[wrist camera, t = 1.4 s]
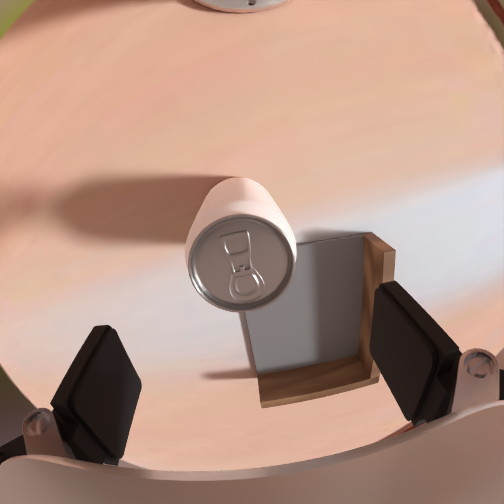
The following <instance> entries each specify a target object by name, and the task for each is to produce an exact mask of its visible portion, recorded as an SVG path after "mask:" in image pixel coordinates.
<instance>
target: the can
mask: <svg viewBox="0 0 504 504" xmlns="http://www.w3.org/2000/svg"><path fill="white" fill-rule="evenodd" d="M296 255H297V249H296V242H295V238H294V234H293V232H292V229H291V227H290V226H289V224H288V222H287V220H286V219H285V217H284V216H283V214H282V212H281V211H280V209H279V208H278V206H277V205H276V203H275V202H274V200H273V199H272V197H271V196H270V194H269V193H268V192H267V191H266V189H265V188H264V187H263V186H261V185H260V184H259V183H257V182H255V181H253V180H251V179H247V178H240V177H236V178H230V179H226V180H224V181H222V182H220V183H218V184H217V185H215V186H214V187H213V188H212V189H211V190H210V191H209V193H208V194H207V196H206V197H205V199H204V201H203V203H202V205H201V207H200V209H199V211H198V213H197V215H196V217H195V220H194V222H193V224H192V226H191V229H190V231H189V234H188V237H187V240H186V246H185V259H186V265H187V268H188V271H189V276H190V279H191V281H192V284H193V286H194V287H195V289H196V290H197V292H198V293H199V294H200V295H201V296H202V297H203V298H204V299H205V300H206V301H207V302H209V303H210V304H212V305H214V306H215V307H217V308H220V309H223V310H226V311H230V312H252V311H256V310H259V309H262V308H265V307H267V306H269V305H270V304H272V303H273V302H275V301H276V300H277V299H279V298H280V297H281V296H282V295H283V294H284V292H285V291H286V290H287V288H288V287H289V285H290V283H291V281H292V278H293V275H294V271H295V262H296Z"/></svg>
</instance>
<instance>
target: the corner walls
mask: <svg viewBox="0 0 504 504" xmlns="http://www.w3.org/2000/svg"><path fill="white" fill-rule="evenodd" d="M362 235H363V236H364V265H363V295H362V313H361V327H360V338H359V349H358V355H354V356H350V357H346V358H342V359H338V360H334V361H329V362H325V363H320V364H315V365H310V366H305V367H300V368H295V369H289V370H284V371H278V372H272V373H265V374H259V375H257V376H258V385H259V394H260V403H261V407H262V408H267V407H274V406H280V405H286V404H292V403H297V402H302V401H307V400H312V399H317V398H321V397H326V396H330V395H334V394H338V393H342V392H346V391H350V390H354V389H358V388H361V387H365V386H368V385H372V384H375V383H378V381H379V376H380V370H379V369H378V367H377V365H376V363H375V361H374V360H373V358H372V356H371V354H370V349H369V345H370V337H371V328H372V318H373V306H374V293H375V289H377V288H378V287H379V285H380V284H381V283H385V282H390V281H394V269H395V253H396V250H395V249H393V248H392V247H391V246H389V245H388V244H387V243H385V242H384V241H383V240H381V239H380V238H379V237H377V236H376V235H375V234H373V233H365V234H362Z"/></svg>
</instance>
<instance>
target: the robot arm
mask: <svg viewBox="0 0 504 504" xmlns="http://www.w3.org/2000/svg"><path fill="white" fill-rule="evenodd" d="M194 1H196V2H198V3H200V4H202V5H203V6H206V7H209V8H212V9H215V10H221V11H226V12H237V13H248V12H259V11H264V10H269V9H272V8H276V7H279V6H281V5H283V4H285V3H287V2H289V1H291V0H194ZM249 4H252V5H253V6H251V5H249ZM369 349H370V354H371V356H372V358H373V360H374V361H375V363H376V365H377V367H378V369H379V370H380V372H381V374H382V376H383V377H384V379H385V381H386V383H387V385H388V387H389V388H390V390H391V392H392V394H393V396H394V398H395V399H396V401H397V403H398V405H399V407H400V409H401V411H402V413H403V415H404V416H405V418H406V420H407V421H410V420H411V421H412V423H413V425H414V427H416V426H418V425H421V424H423V423H425V422H427V424H425V425H423V426H420V427H417V428H415V429H412V430H410V431H407V432H404V433H402V434H399V435H396V436H393V437H391V438H388V439H385V440H382V441H379V442H376V443H373V444H369V445H366V446H363V447H360V448H356V449H353V450H349V451H345V452H341V453H338V454H334V455H329V456H325V457H321V458H316V459H311V460H306V461H301V462H295V463H290V464H283V465H277V466H270V467H262V468H252V469H242V470H228V471H198V472H190V471H158V470H145V469H134V468H125V467H117V465H118V462H119V459H121V458H122V457H123V455H124V451H125V447H126V443H127V439H128V435H129V431H130V427H131V424H132V420H133V416H134V413H135V409H136V406H137V402H138V399H139V395H140V392H141V388H142V385H141V380H140V378H139V376H138V374H137V372H136V371H135V369H134V367H133V365H132V363H131V361H130V359H129V357H128V355H127V353H126V351H125V349H124V347H123V345H122V342H121V340H120V338H119V336H118V334H117V332H116V330H115V329H112V327H111V326H109V325H101V326H95V327H94V328H93V329H92V331H91V332H90V334H89V336H88V337H87V339H86V340H85V342H84V344H83V345H82V347H81V349H80V350H79V352H78V354H77V356H76V357H75V359H74V361H73V362H72V364H71V366H70V368H69V369H68V371H67V373H66V375H65V377H64V378H63V380H62V382H61V384H60V386H59V388H58V389H57V391H56V393H55V395H54V397H53V399H52V401H51V403H50V404H51V405H52V407H53V408H54V409H53V411H52V412H51V411H50V410H49V409H46V408H39V409H36V410H34V411H32V412H31V413H30V414H29V415H28V416H27V417H26V418H25V420H24V422H23V425H22V431H23V435H21V436H19V437H18V438H16V439H14V440H12V441H10V442H8V443H6V444H5V445H3V446H1V447H0V504H504V370H501V369H499V363H498V361H497V359H496V357H495V356H494V355H493V354H492V353H490V352H488V351H487V350H483V349H476V348H474V349H470V350H467V351H466V352H464V353H463V354H462V353H461V352H460V350H459V347H458V346H457V345H456V343H455V342H454V341H453V340H452V339H451V338H450V337H449V336H448V335H447V333H446V332H445V331H444V330H443V329H442V328H441V327H440V326H439V325H438V324H437V323H436V322H435V320H434V319H433V318H432V317H431V316H430V315H429V314H428V313H427V312H426V311H425V310H424V309H423V308H422V307H421V306H420V305H419V304H418V303H417V302H416V301H415V300H414V299H413V298H412V297H411V295H410V294H409V293H408V292H407V291H406V290H405V289H404V288H403V287H402V286H401V285H400V284H398V283H397V282H396V281H390V282H385V283H381V284H380V285H379V287H378V288H377V289H375V293H374V306H373V318H372V328H371V337H370V345H369ZM103 462H104V463H105V464H110V465H115V466H110V465H103Z"/></svg>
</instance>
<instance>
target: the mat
mask: <svg viewBox="0 0 504 504" xmlns="http://www.w3.org/2000/svg"><path fill="white" fill-rule="evenodd" d="M296 249H297V255H296V262H295V271H294V275H293V278H292V281H291V283H290V285H289V287H288V288H287V290H286V291H285V292H284V294H283V295H282V296H281V297H280V298H279V299H277V300H276V301H275V302H273V303H272V304H270V305H269V306H267V307H265V308H262V309H259V310H256V311H252V312H245V315H246V320H247V325H248V330H249V335H250V341H251V346H252V351H253V356H254V361H255V366H256V371H257V375H259V374H265V373H272V372H278V371H284V370H289V369H295V368H300V367H305V366H310V365H315V364H320V363H325V362H329V361H334V360H338V359H342V358H346V357H350V356H354V355H358V349H359V338H360V327H361V313H362V295H363V265H364V236H363V235H362V234H359V235H353V236H346V237H340V238H334V239H328V240H321V241H315V242H309V243H302V244H296Z"/></svg>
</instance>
